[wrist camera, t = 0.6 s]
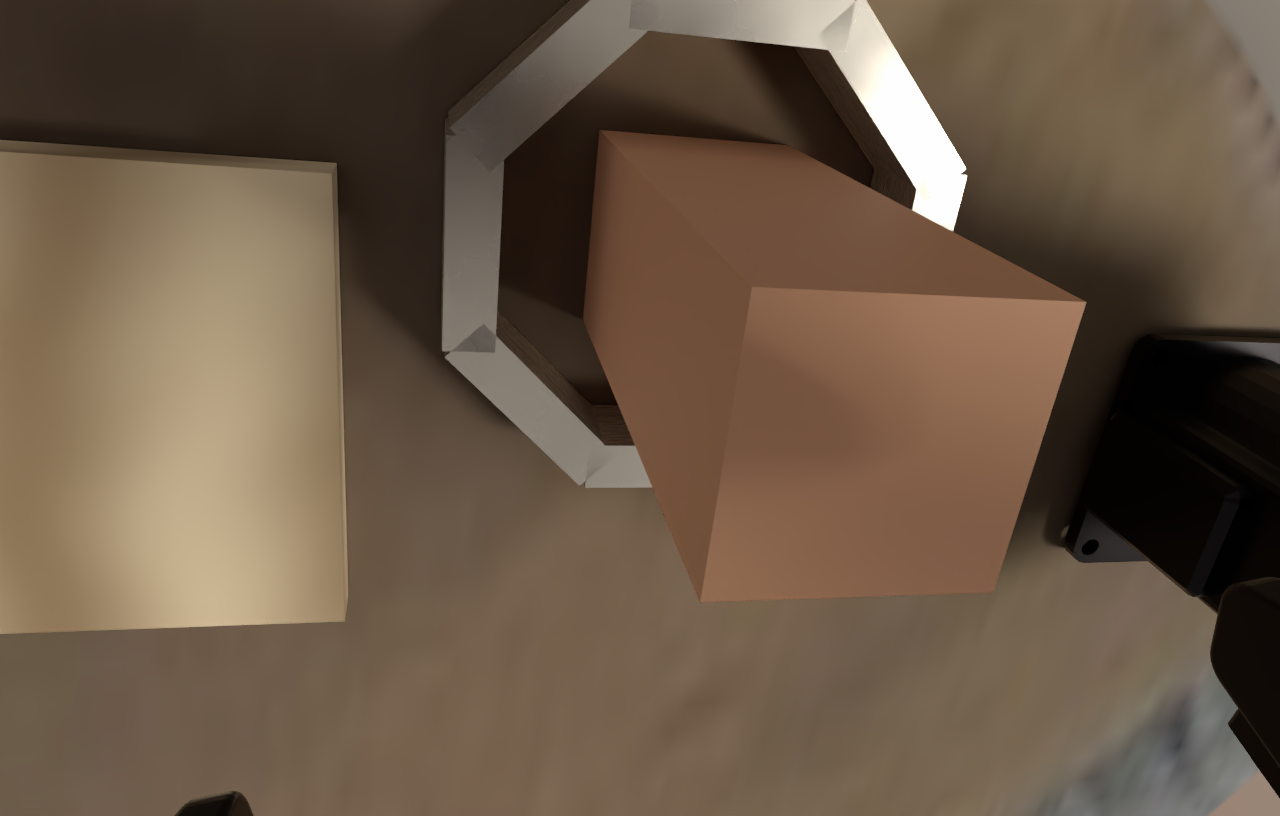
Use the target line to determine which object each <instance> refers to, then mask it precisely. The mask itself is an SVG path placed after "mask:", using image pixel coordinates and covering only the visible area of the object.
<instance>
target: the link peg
mask: <svg viewBox="0 0 1280 816" xmlns="http://www.w3.org/2000/svg"><path fill="white" fill-rule="evenodd" d="M1085 305H1086V302H1085V301H1083V300H1082V299H1080V298H1078V297H1076V296H1074V295H1072V294H1070V293H1068V292H1066V291H1064V290H1063V289H1061V288H1059V287H1057V286H1055V285H1053V284H1051V283H1049V282H1047V281H1045V280H1044V279H1042V278H1040V277H1038V276H1036V275H1034V274H1032V273H1030V272H1028V271H1026V270H1025V269H1023V268H1021V267H1019V266H1017V265H1015V264H1013V263H1011V262H1009V261H1007V260H1006V259H1004V258H1002V257H1000V256H998V255H996V254H994V253H992V252H990V251H988V250H987V249H985V248H983V247H981V246H979V245H977V244H975V243H973V242H971V241H969V240H968V239H966V238H964V237H962V236H960V235H958V234H956V233H954V232H952V231H950V230H949V229H947V228H945V227H943V226H941V225H939V224H937V223H935V222H933V221H931V220H930V219H928V218H926V217H924V216H922V215H920V214H918V213H916V212H914V211H912V210H911V209H909V208H907V207H905V206H903V205H901V204H899V203H897V202H895V201H893V200H892V199H890V198H888V197H886V196H884V195H882V194H880V193H878V192H876V191H874V190H873V189H871V188H869V187H867V186H865V185H863V184H861V183H859V182H857V181H855V180H854V179H852V178H850V177H848V176H846V175H844V174H842V173H840V172H838V171H836V170H835V169H833V168H831V167H829V166H827V165H825V164H823V163H821V162H819V161H817V160H816V159H814V158H812V157H810V156H808V155H806V154H804V153H802V152H800V151H798V150H797V149H795V148H793V147H791V146H789V145H778V144H766V143H754V142H742V141H729V140H717V139H705V138H693V137H680V136H668V135H656V134H644V133H631V132H619V131H607V130H599V141H598V152H597V164H596V175H595V186H594V198H593V209H592V221H591V232H590V244H589V255H588V267H587V278H586V290H585V301H584V313H583V321H584V324H585V326H586V329H587V331H588V334H589V336H590V338H591V341H592V343H593V346H594V348H595V350H596V353H597V355H598V358H599V360H600V362H601V365H602V367H603V370H604V372H605V374H606V377H607V379H608V382H609V384H610V386H611V389H612V391H613V394H614V396H615V399H616V401H617V403H618V406H619V408H620V411H621V413H622V415H623V418H624V420H625V423H626V425H627V427H628V430H629V432H630V435H631V437H632V439H633V442H634V444H635V447H636V449H637V451H638V454H639V456H640V459H641V461H642V464H643V466H644V468H645V471H646V473H647V476H648V478H649V480H650V483H651V485H652V488H653V490H654V492H655V495H656V497H657V500H658V502H659V504H660V507H661V509H662V512H663V514H664V517H665V519H666V521H667V524H668V526H669V529H670V531H671V533H672V536H673V538H674V541H675V543H676V545H677V548H678V550H679V553H680V555H681V557H682V560H683V562H684V565H685V567H686V569H687V572H688V574H689V577H690V579H691V582H692V584H693V586H694V589H695V591H696V594H697V596H698V598H699V601H700V603H702V602H731V601H760V600H789V599H818V598H847V597H876V596H905V595H934V594H963V593H992V592H994V589H995V586H996V582H997V579H998V576H999V573H1000V570H1001V567H1002V564H1003V561H1004V558H1005V554H1006V551H1007V548H1008V545H1009V542H1010V539H1011V536H1012V533H1013V530H1014V526H1015V523H1016V520H1017V517H1018V514H1019V511H1020V508H1021V505H1022V501H1023V498H1024V495H1025V492H1026V489H1027V486H1028V483H1029V480H1030V477H1031V473H1032V470H1033V467H1034V464H1035V461H1036V458H1037V455H1038V452H1039V449H1040V445H1041V442H1042V439H1043V436H1044V433H1045V430H1046V427H1047V424H1048V421H1049V417H1050V414H1051V411H1052V408H1053V405H1054V402H1055V399H1056V396H1057V392H1058V389H1059V386H1060V383H1061V380H1062V377H1063V374H1064V371H1065V368H1066V364H1067V361H1068V358H1069V355H1070V352H1071V349H1072V346H1073V343H1074V340H1075V336H1076V333H1077V330H1078V327H1079V324H1080V321H1081V318H1082V315H1083V312H1084V308H1085Z"/></svg>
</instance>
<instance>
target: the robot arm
mask: <svg viewBox="0 0 1280 816" xmlns="http://www.w3.org/2000/svg"><path fill="white" fill-rule="evenodd" d="M1155 351H1157V353H1156V355H1155V356H1154V358H1152V359H1151V360H1150V357H1151V356H1152V354H1153V353H1154V352H1155ZM1087 541H1088V542H1087ZM1086 542H1087V543H1086ZM1084 543H1086V544H1085V545H1084ZM1065 548H1066V551H1067V552H1069V553H1070V554H1071V555H1072V556H1073V557H1074V558H1075V559H1076V560H1078V561H1079V562H1083V563H1093V562H1129V561H1149V562H1150V563H1151V564H1152V565H1153V566H1155V567H1156V568H1157V569H1158V570H1159V571H1161V572H1162V573H1163V574H1164V575H1165V576H1166V577H1168V578H1169V579H1170V580H1171V581H1172V582H1174V583H1175V584H1176V585H1177V586H1178V587H1180V588H1181V589H1182V590H1183V591H1184V592H1186V593H1187V594H1188V595H1190V596H1192V597H1198V598H1199V599H1200V600H1201V601H1202V602H1204V603H1205V604H1206V605H1207V606H1208V607H1210V608H1211V609H1212V610H1213V611H1214V612H1216V613H1217V614H1218V616H1217V620H1216V625H1215V630H1214V635H1213V639H1212V644H1211V649H1210V657H1211V663H1212V666H1213V669H1214V671H1215V674H1216V676H1217V678H1218V679H1219V681H1220V682H1221V684H1222V685H1223V687H1224V688H1225V690H1226V691H1227V693H1228V694H1229V695H1230V697H1231V698H1232V700H1233V701H1234V703H1235V704H1236V705H1237V707H1238V710H1237V711H1236V712H1235V714H1234V715H1233V717H1232V718H1231V719H1230V721H1229V722H1228V725H1229V727H1230V728H1231V730H1232V731H1233V733H1234V734H1235V735H1236V737H1237V738H1238V740H1239V741H1240V743H1241V744H1242V745H1243V747H1244V748H1245V750H1246V751H1247V752H1248V754H1249V755H1250V757H1251V759H1252V760H1253V761H1254V763H1255V764H1256V766H1257V767H1258V768H1259V770H1260V771H1261V773H1262V774H1263V775H1264V777H1265V778H1266V780H1267V781H1268V782H1269V784H1270V785H1271V787H1272V788H1273V789H1274V790H1275V792H1276V794H1277V795H1278V796H1279V798H1280V338H1262V337H1234V336H1207V335H1180V334H1149V335H1146V336H1144V337H1143V338H1141V339H1140V340H1139V341H1138V342H1137V343H1136V344H1135V345H1134V347H1133V349H1132V350H1131V353H1130V355H1129V358H1128V361H1127V364H1126V367H1125V370H1124V373H1123V375H1122V378H1121V381H1120V384H1119V387H1118V390H1117V393H1116V396H1115V398H1114V401H1113V404H1112V407H1111V410H1110V413H1109V416H1108V418H1107V421H1106V424H1105V427H1104V430H1103V433H1102V436H1101V439H1100V441H1099V444H1098V447H1097V450H1096V453H1095V456H1094V459H1093V461H1092V464H1091V467H1090V470H1089V473H1088V476H1087V479H1086V482H1085V484H1084V487H1083V490H1082V493H1081V496H1080V499H1079V502H1078V504H1077V507H1076V510H1075V513H1074V516H1073V519H1072V522H1071V525H1070V527H1069V530H1068V533H1067V536H1066V539H1065ZM175 816H253V813H252V811H251V808H250V806H249V803H248V801H247V800H246V798H245V797H244V796H243V795H242V794H241V793H240V792H237V791H229V792H224V793H220V794H215V795H210V796H205V797H200V798H196V799H193V800H191V801H189V802H188V803H186V804H185V805H184V806H183V807H182V808H181V809H180V810H179V811H178V812H177V813H176V814H175Z"/></svg>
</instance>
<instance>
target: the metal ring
mask: <svg viewBox="0 0 1280 816" xmlns="http://www.w3.org/2000/svg"><path fill="white" fill-rule="evenodd" d="M647 31H657V32H666V33H675V34H685V35H694V36H703V37H713V38H722V39H731V40H741V41H750V42H759V43H769V44H778V45H787V46H794V48H795V49H796V51H797V52H798V54H799V55H800V57H801V58H802V60H803V61H804V63H805V64H806V66H807V67H808V69H809V71H810V72H811V74H812V75H813V77H814V78H815V80H816V81H817V83H818V84H819V86H820V87H821V89H822V90H823V92H824V93H825V95H826V97H827V98H828V100H829V101H830V103H831V104H832V106H833V107H834V109H835V110H836V112H837V113H838V115H839V116H840V118H841V119H842V121H843V123H844V124H845V126H846V127H847V129H848V130H849V132H850V133H851V135H852V136H853V138H854V139H855V141H856V142H857V144H858V145H859V147H860V149H861V150H862V152H863V153H864V155H865V156H866V158H867V159H868V161H869V162H870V164H871V165H872V167H873V168H874V171H873V176H872V181H871V186H870V188H871V189H873V190H874V191H876V192H878V193H880V194H882V195H884V196H886V197H888V198H890V199H892V200H893V201H895V202H897V203H899V204H901V205H903V206H905V207H907V208H909V209H911V210H912V211H914V212H916V213H918V214H920V215H922V216H924V217H926V218H928V219H930V220H931V221H933V222H935V223H937V224H939V225H941V226H943V227H945V228H947V229H949V230H950V231H952V232H953V230H954V226H955V222H956V218H957V214H958V210H959V206H960V202H961V198H962V194H963V190H964V186H965V182H966V178H967V175H965V174H963V173H962V172H963V171H964V170H966V167H965V166H964V164H963V162H962V160H961V159H960V157H959V155H958V154H957V152H956V150H955V149H954V147H953V145H952V144H951V142H950V140H949V139H948V137H947V135H946V134H945V132H944V130H943V129H942V127H941V125H940V124H939V122H938V120H937V119H936V117H935V115H934V113H933V112H932V110H931V108H930V107H929V105H928V103H927V102H926V100H925V98H924V97H923V95H922V93H921V92H920V90H919V88H918V87H917V85H916V83H915V82H914V80H913V78H912V77H911V75H910V73H909V71H908V70H907V68H906V66H905V65H904V63H903V61H902V60H901V58H900V56H899V55H898V53H897V51H896V50H895V48H894V46H893V45H892V43H891V41H890V40H889V38H888V36H887V35H886V33H885V31H884V29H883V28H882V26H881V24H880V23H879V21H878V19H877V18H876V16H875V14H874V13H873V11H872V9H871V8H870V6H869V4H868V3H867V1H866V0H569V1H568V2H567V3H566V4H565V5H564V6H563V7H562V8H560V9H559V10H558V11H557V12H556V13H555V14H554V15H553V16H552V17H551V18H549V19H548V20H547V21H546V22H545V23H544V24H543V25H542V26H541V27H540V28H539V29H537V30H536V31H535V32H534V33H533V34H532V35H531V36H530V37H529V38H528V39H526V40H525V41H524V42H523V43H522V44H521V45H520V46H519V47H518V48H517V49H516V50H514V51H513V52H512V53H511V54H510V55H509V56H508V57H507V58H506V59H505V60H503V61H502V62H501V63H500V64H499V65H498V66H497V67H496V68H495V69H494V70H492V71H491V72H490V73H489V74H488V75H487V76H486V77H485V78H484V79H483V80H482V81H480V82H479V83H478V84H477V85H476V86H475V87H474V88H473V89H472V90H471V91H469V92H468V93H467V94H466V95H465V96H464V97H463V98H462V99H461V100H460V101H459V102H457V103H456V104H455V105H454V106H453V107H452V108H451V109H450V110H449V111H448V117H449V118H445V146H444V195H443V244H442V293H441V332H442V351H444V355H445V358H446V359H447V360H448V361H449V362H450V363H451V364H452V365H453V366H454V367H455V368H456V369H457V370H458V371H460V372H461V373H462V374H463V375H464V376H465V377H466V378H467V379H468V380H469V381H470V382H471V383H472V384H473V385H474V386H475V387H476V388H477V389H478V390H479V391H481V392H482V393H483V394H484V395H485V396H486V397H487V398H488V399H489V400H490V401H491V402H492V403H493V404H494V405H495V406H496V407H497V408H498V409H499V410H500V411H502V412H503V413H504V414H505V415H506V416H507V417H508V418H509V419H510V420H511V421H512V422H513V423H514V424H515V425H516V426H517V427H518V428H519V429H520V430H522V431H523V432H524V433H525V434H526V435H527V436H528V437H529V438H530V439H531V440H532V441H533V442H534V443H535V444H536V445H537V446H538V447H539V448H540V449H541V450H543V451H544V452H545V453H546V454H547V455H548V456H549V457H550V458H551V459H552V460H553V461H554V462H555V463H556V464H557V465H558V466H559V467H560V468H561V469H562V470H564V471H565V472H566V473H567V474H568V475H569V476H570V477H571V478H572V479H573V480H574V481H575V482H576V483H577V484H578V485H579V486H580V485H581V484H582V483H584V486H585V488H641V487H652V485H651V483H650V480H649V478H648V476H647V473H646V471H645V468H644V466H643V464H642V461H641V459H640V456H639V454H638V451H637V449H636V447H635V444H634V442H633V439H632V437H631V435H630V432H629V430H628V427H627V425H626V423H625V420H624V418H623V415H622V413H621V411H620V408H619V406H618V405H591V404H590V403H589V402H588V401H587V400H586V399H585V398H584V397H583V396H582V395H581V394H580V393H579V392H578V391H577V390H576V389H575V388H574V387H573V386H572V385H571V384H570V383H569V382H568V381H567V380H566V379H565V378H564V377H563V376H562V375H561V374H560V373H559V372H558V371H557V370H556V369H555V368H554V367H553V366H552V365H551V364H550V362H549V361H548V360H547V359H546V358H545V357H544V356H543V355H542V354H541V353H540V352H539V351H538V350H537V349H536V348H535V347H534V346H533V345H532V344H531V343H530V342H529V341H528V340H527V339H526V338H525V337H524V336H523V335H522V334H521V333H520V332H519V331H518V330H517V329H516V328H515V327H514V326H513V325H512V324H511V323H510V322H509V321H508V320H507V319H506V318H505V317H504V315H503V314H502V313H501V312H500V311H499V310H498V309H497V304H498V282H499V261H500V239H501V218H502V196H503V174H504V159H505V158H506V157H508V156H509V155H510V154H511V153H512V152H513V151H514V150H515V149H516V148H518V147H519V146H520V145H521V144H522V143H523V142H524V141H525V140H527V139H528V138H529V137H530V136H531V135H532V134H533V133H534V132H536V131H537V130H538V129H539V128H540V127H541V126H542V125H543V124H544V123H546V122H547V121H548V120H549V119H550V118H551V117H552V116H553V115H555V114H556V113H557V112H558V111H559V110H560V109H561V108H562V107H564V106H565V105H566V104H567V103H568V102H569V101H570V100H571V99H572V98H574V97H575V96H576V95H577V94H578V93H579V92H580V91H581V90H583V89H584V88H585V87H586V86H587V85H588V84H589V83H590V82H592V81H593V80H594V79H595V78H596V77H597V76H598V75H599V74H600V73H602V72H603V71H604V70H605V69H606V68H607V67H608V66H609V65H611V64H612V63H613V62H614V61H615V60H616V59H617V58H618V57H619V56H621V55H622V54H623V53H624V52H625V51H626V50H627V49H628V48H630V47H631V46H632V45H633V44H634V43H635V42H636V41H637V40H639V39H640V38H641V37H642V36H643V35H644V34H645V33H646V32H647Z"/></svg>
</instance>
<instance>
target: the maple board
mask: <svg viewBox="0 0 1280 816" xmlns="http://www.w3.org/2000/svg"><path fill="white" fill-rule="evenodd" d="M347 600H348V567H347V530H346V492H345V454H344V416H343V379H342V341H341V303H340V266H339V228H338V190H337V163H329V162H315V161H300V160H286V159H271V158H257V157H242V156H228V155H213V154H199V153H184V152H170V151H155V150H141V149H126V148H112V147H97V146H83V145H68V144H54V143H39V142H25V141H11V140H0V634H11V633H39V632H66V631H93V630H121V629H148V628H175V627H203V626H230V625H257V624H285V623H312V622H340V621H345V615H346V608H347Z"/></svg>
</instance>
